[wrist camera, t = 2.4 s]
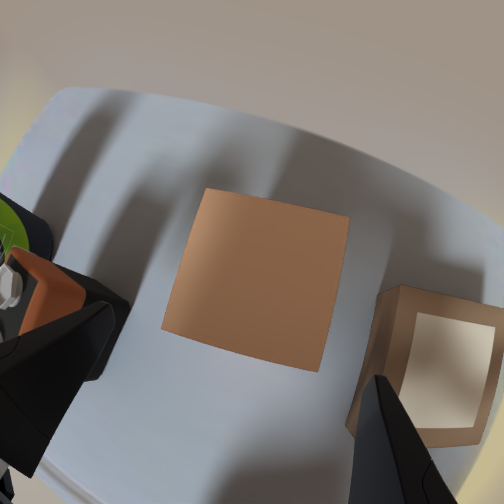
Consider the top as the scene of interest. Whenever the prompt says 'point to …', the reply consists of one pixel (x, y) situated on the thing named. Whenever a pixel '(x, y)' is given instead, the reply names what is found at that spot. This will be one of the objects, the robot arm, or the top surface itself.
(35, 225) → the beverage can
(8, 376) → the robot arm
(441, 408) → the foundation block
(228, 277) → the pillar block
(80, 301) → the battery
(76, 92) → the top surface
